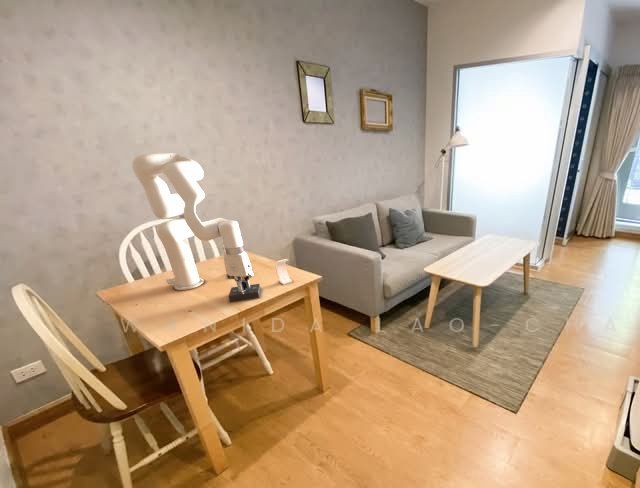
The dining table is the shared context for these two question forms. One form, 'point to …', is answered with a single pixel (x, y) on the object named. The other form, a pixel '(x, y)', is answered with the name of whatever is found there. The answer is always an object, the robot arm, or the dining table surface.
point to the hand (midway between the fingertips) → (244, 288)
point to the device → (245, 293)
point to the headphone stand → (282, 272)
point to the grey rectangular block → (240, 285)
